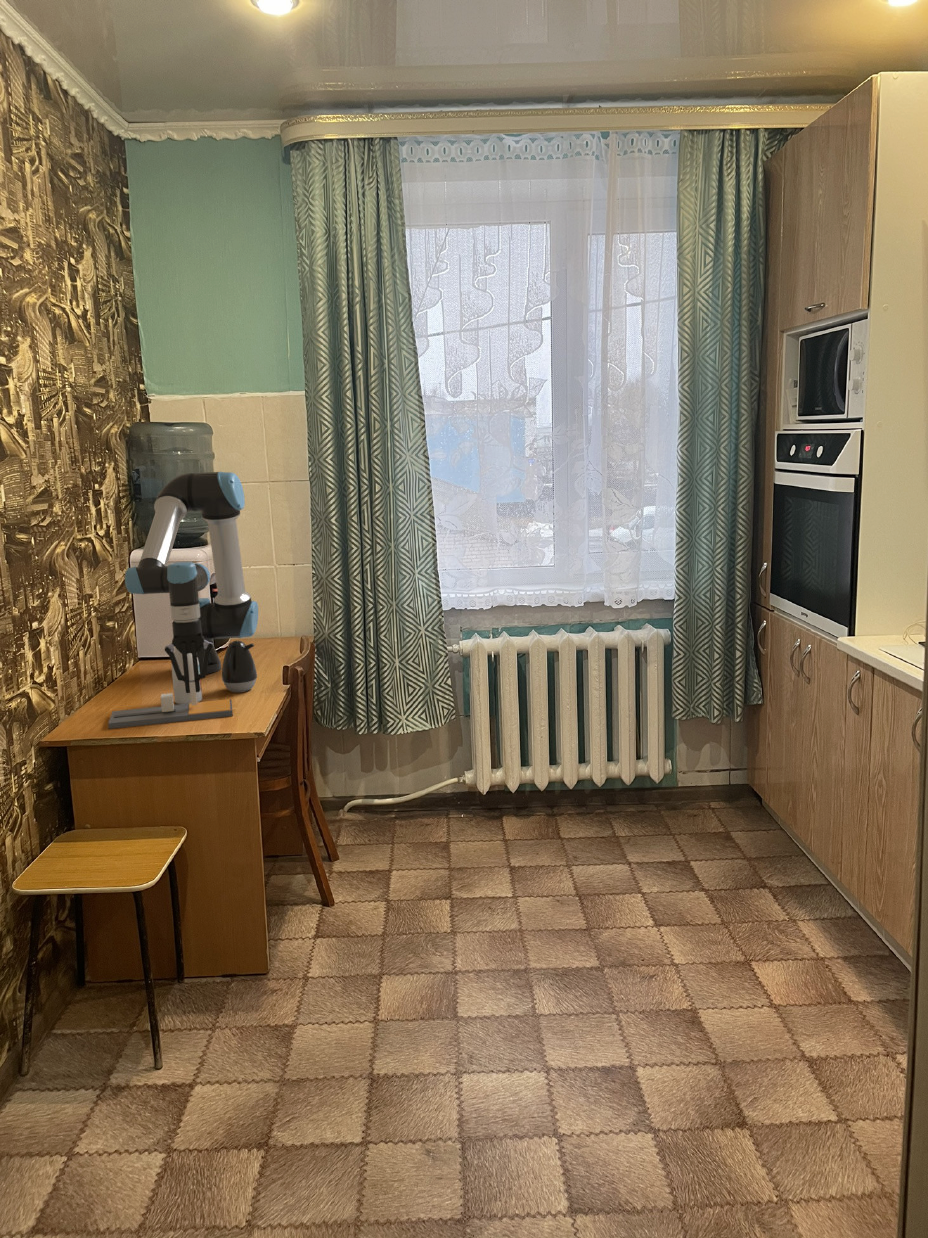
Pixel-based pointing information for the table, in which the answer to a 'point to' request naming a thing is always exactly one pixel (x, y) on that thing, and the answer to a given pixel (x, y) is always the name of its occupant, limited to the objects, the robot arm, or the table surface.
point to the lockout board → (170, 714)
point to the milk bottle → (179, 686)
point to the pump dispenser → (239, 667)
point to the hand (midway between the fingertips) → (194, 703)
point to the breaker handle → (167, 702)
